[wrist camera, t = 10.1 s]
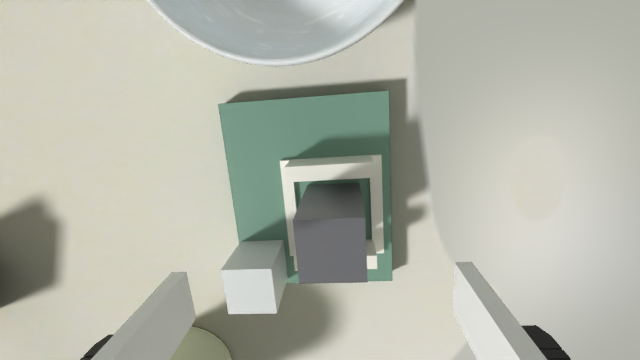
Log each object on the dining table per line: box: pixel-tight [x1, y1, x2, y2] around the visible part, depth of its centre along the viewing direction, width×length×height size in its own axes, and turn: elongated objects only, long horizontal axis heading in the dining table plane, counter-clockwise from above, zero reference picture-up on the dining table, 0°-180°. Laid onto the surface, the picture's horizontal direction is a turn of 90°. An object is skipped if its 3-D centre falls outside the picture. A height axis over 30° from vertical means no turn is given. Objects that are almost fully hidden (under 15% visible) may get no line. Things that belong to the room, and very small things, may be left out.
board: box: [218, 91, 392, 283], centre depth 27 cm, size 17×14×4 cm
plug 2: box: [293, 183, 368, 284], centre depth 24 cm, size 5×4×8 cm
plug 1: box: [221, 240, 288, 314], centre depth 27 cm, size 4×4×5 cm
